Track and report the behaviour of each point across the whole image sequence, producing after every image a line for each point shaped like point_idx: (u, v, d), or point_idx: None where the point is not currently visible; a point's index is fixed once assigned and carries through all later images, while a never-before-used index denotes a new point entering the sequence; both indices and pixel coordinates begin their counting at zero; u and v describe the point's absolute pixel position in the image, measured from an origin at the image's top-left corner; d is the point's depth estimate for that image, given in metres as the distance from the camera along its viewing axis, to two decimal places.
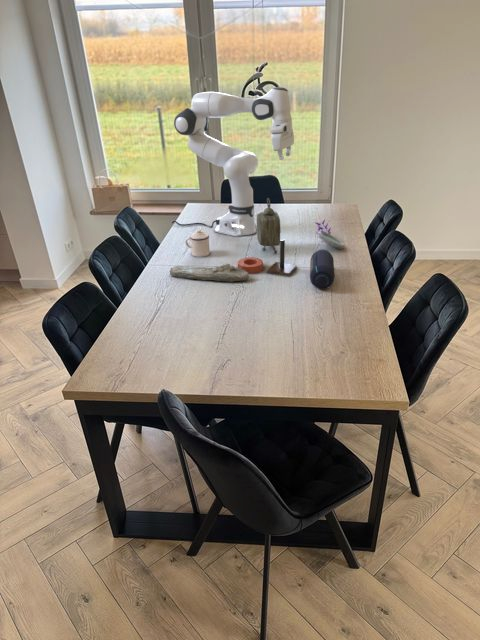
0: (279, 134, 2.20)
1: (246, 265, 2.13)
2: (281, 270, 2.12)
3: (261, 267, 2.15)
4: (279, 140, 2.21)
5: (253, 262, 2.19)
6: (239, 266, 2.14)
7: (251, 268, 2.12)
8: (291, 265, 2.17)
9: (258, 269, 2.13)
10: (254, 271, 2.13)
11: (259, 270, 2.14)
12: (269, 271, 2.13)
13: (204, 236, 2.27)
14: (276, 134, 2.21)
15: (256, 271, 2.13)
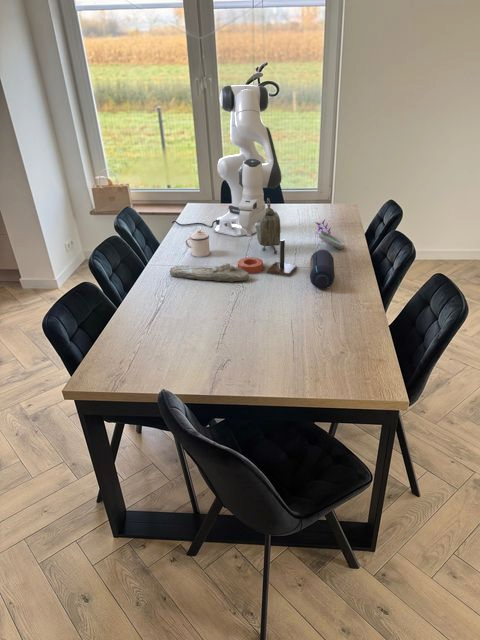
0: (248, 212, 2.00)
1: (246, 265, 2.13)
2: (281, 270, 2.12)
3: (261, 267, 2.15)
4: (248, 218, 2.00)
5: (253, 262, 2.19)
6: (239, 266, 2.14)
7: (251, 268, 2.12)
8: (291, 265, 2.17)
9: (258, 269, 2.13)
10: (254, 271, 2.13)
11: (259, 270, 2.14)
12: (269, 271, 2.13)
13: (204, 236, 2.27)
14: (245, 211, 2.00)
15: (256, 271, 2.13)
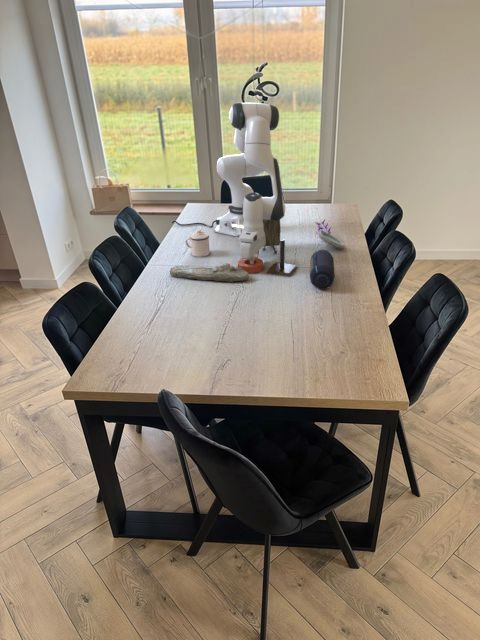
0: (248, 244, 2.07)
1: (246, 265, 2.13)
2: (281, 270, 2.12)
3: (261, 267, 2.15)
4: (248, 250, 2.07)
5: None
6: (239, 266, 2.14)
7: (251, 268, 2.12)
8: (291, 265, 2.17)
9: (258, 269, 2.14)
10: (254, 271, 2.13)
11: (259, 270, 2.14)
12: (269, 271, 2.13)
13: (204, 236, 2.27)
14: (245, 243, 2.07)
15: (256, 271, 2.13)
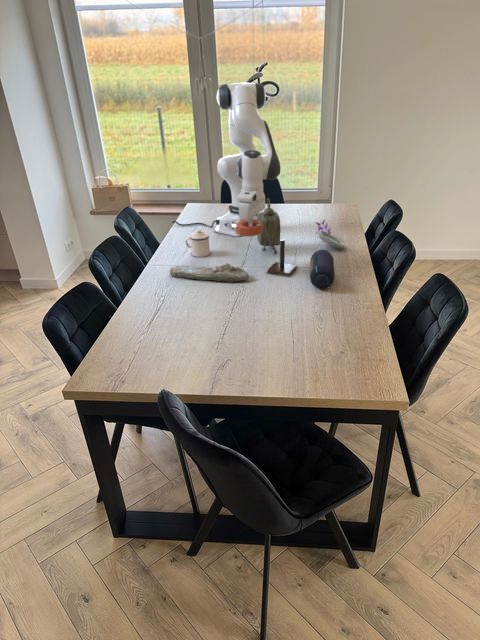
0: (247, 204, 1.98)
1: (245, 227, 2.04)
2: (281, 270, 2.12)
3: (260, 229, 2.06)
4: (247, 210, 1.98)
5: None
6: (237, 228, 2.05)
7: (250, 230, 2.03)
8: (291, 265, 2.17)
9: (257, 231, 2.05)
10: (253, 233, 2.04)
11: (258, 232, 2.05)
12: (269, 271, 2.13)
13: (204, 236, 2.27)
14: (244, 203, 1.98)
15: (255, 233, 2.04)
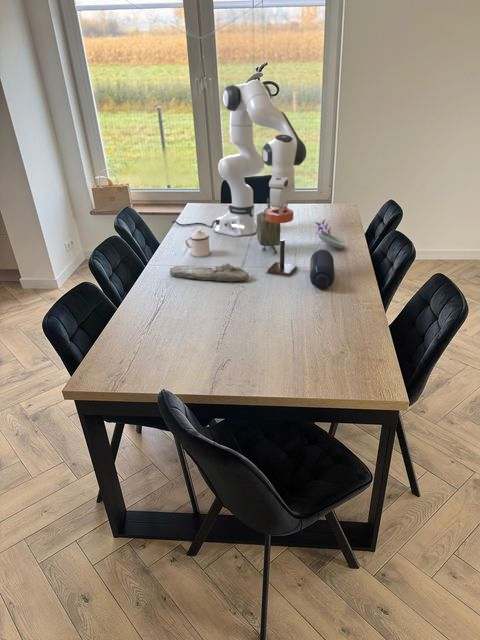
0: (279, 189, 1.93)
1: (275, 214, 1.98)
2: (281, 270, 2.12)
3: (291, 217, 2.00)
4: (278, 196, 1.93)
5: None
6: (268, 215, 2.00)
7: (281, 217, 1.98)
8: (291, 265, 2.17)
9: (288, 218, 1.99)
10: (284, 220, 1.98)
11: (289, 220, 2.00)
12: (269, 271, 2.13)
13: (204, 236, 2.27)
14: (275, 189, 1.93)
15: (286, 220, 1.99)
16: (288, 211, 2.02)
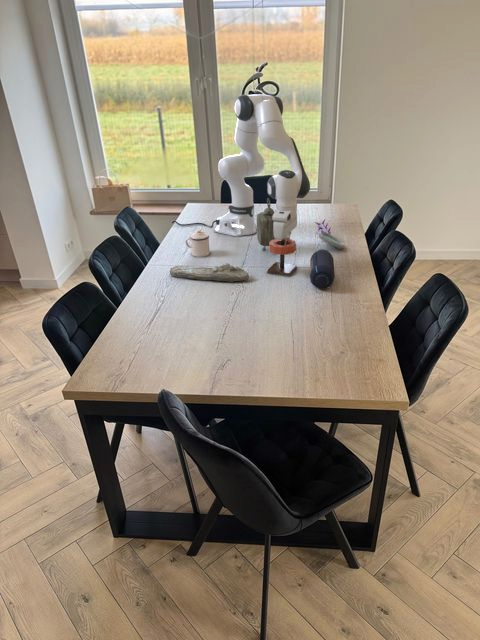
0: (282, 223, 2.00)
1: (279, 246, 2.05)
2: (281, 270, 2.12)
3: (294, 248, 2.07)
4: (282, 230, 2.00)
5: None
6: (271, 247, 2.07)
7: (284, 249, 2.05)
8: (291, 265, 2.17)
9: (291, 250, 2.06)
10: (287, 252, 2.05)
11: (292, 251, 2.07)
12: (269, 271, 2.13)
13: (204, 236, 2.27)
14: (279, 222, 2.00)
15: (289, 252, 2.06)
16: (291, 242, 2.09)
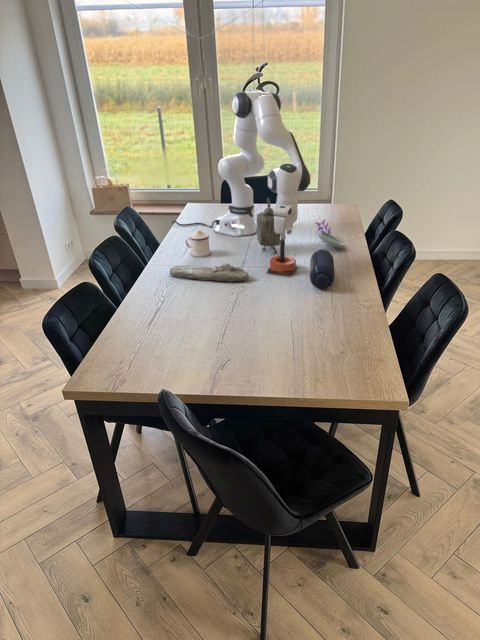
0: (283, 217, 1.99)
1: (279, 263, 2.10)
2: None
3: (294, 265, 2.12)
4: (282, 224, 2.00)
5: (285, 260, 2.17)
6: (272, 264, 2.12)
7: (284, 266, 2.09)
8: None
9: (291, 267, 2.11)
10: (287, 269, 2.10)
11: (292, 268, 2.12)
12: (269, 271, 2.13)
13: (204, 236, 2.27)
14: (279, 217, 2.00)
15: (289, 269, 2.11)
16: (291, 260, 2.13)
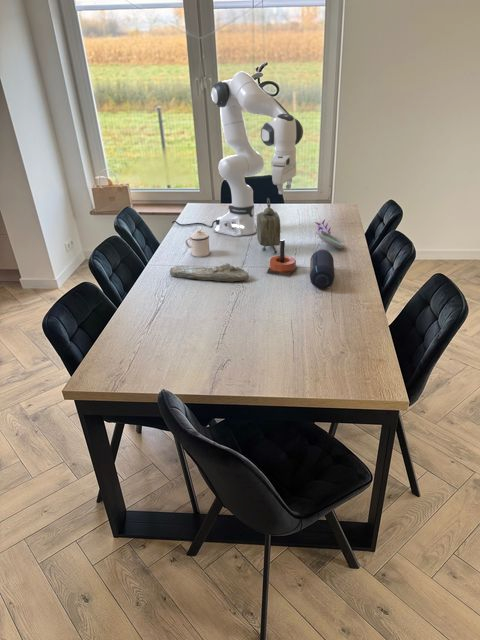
0: (281, 167, 1.97)
1: (279, 263, 2.10)
2: None
3: (294, 265, 2.12)
4: (280, 174, 1.98)
5: (285, 260, 2.17)
6: (272, 264, 2.12)
7: (284, 266, 2.09)
8: None
9: (291, 267, 2.11)
10: (287, 269, 2.10)
11: (292, 268, 2.12)
12: (269, 271, 2.13)
13: (204, 236, 2.27)
14: (277, 167, 1.98)
15: (289, 269, 2.11)
16: (291, 260, 2.13)
